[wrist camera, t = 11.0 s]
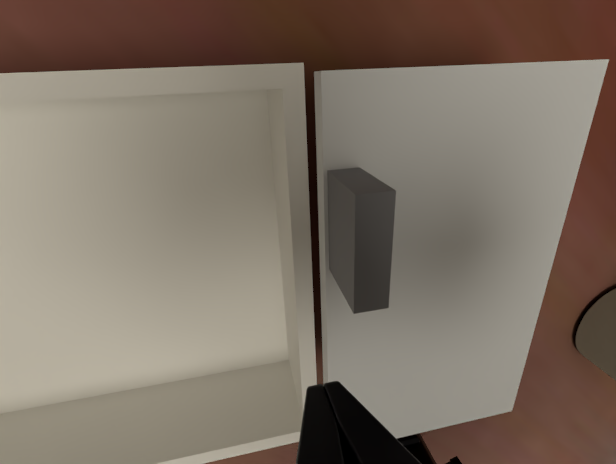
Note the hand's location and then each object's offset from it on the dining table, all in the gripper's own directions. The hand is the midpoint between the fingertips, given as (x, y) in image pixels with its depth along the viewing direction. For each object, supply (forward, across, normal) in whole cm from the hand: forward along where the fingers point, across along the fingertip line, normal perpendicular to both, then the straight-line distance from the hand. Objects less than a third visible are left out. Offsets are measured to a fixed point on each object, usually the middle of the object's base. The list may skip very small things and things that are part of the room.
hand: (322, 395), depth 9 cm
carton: (+13, +10, +1) cm, 16 cm away
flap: (+6, -7, +1) cm, 10 cm away
